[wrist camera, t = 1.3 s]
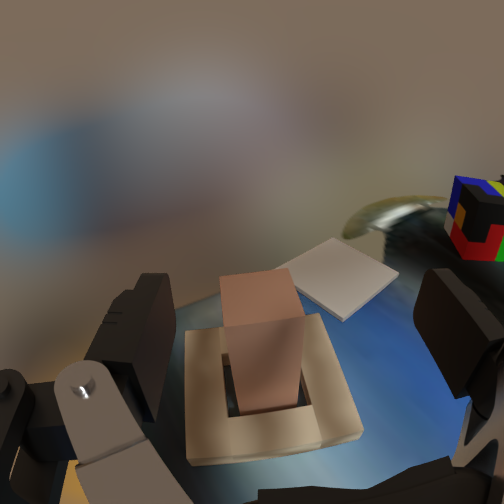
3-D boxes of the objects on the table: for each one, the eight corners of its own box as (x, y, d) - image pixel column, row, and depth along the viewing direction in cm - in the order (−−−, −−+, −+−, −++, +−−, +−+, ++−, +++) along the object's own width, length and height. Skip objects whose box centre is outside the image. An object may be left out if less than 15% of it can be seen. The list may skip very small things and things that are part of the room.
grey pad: (332, 240, 48) (332, 237, 48) (398, 276, 40) (398, 272, 40) (272, 273, 43) (272, 269, 42) (342, 322, 34) (343, 318, 34)
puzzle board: (317, 325, 34) (319, 313, 33) (358, 439, 23) (364, 429, 22) (188, 343, 33) (185, 330, 32) (192, 466, 22) (186, 458, 21)
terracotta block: (285, 365, 30) (287, 267, 24) (296, 408, 26) (305, 315, 19) (234, 372, 30) (219, 276, 23) (240, 416, 26) (224, 327, 19)
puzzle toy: (443, 227, 50) (454, 175, 45) (486, 231, 49) (499, 182, 43) (462, 259, 42) (479, 201, 37) (508, 262, 40) (527, 208, 35)
